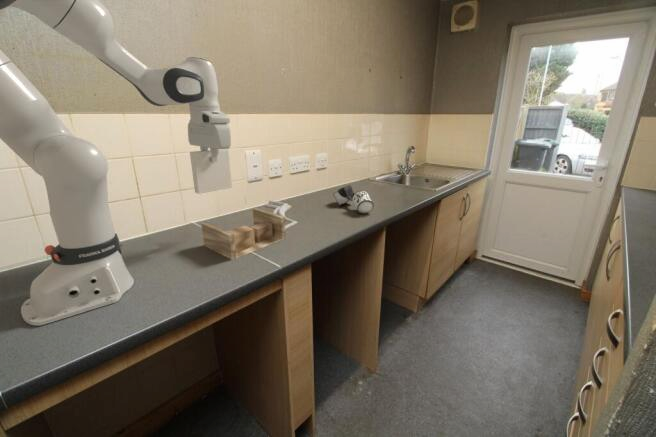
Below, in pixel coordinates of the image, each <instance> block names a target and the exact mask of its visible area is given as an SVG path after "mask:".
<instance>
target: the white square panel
mask: <svg viewBox="0 0 656 437" xmlns="http://www.w3.org/2000/svg"><path fill="white" fill-rule="evenodd" d="M218 150H219V152H218V155H217V162H210V156H211V151H210V149H208V150H207V151H201V150H196V151H189V155H190V156H189V157H190V164H191V172H192V180H193V181H192V182H193V188H194V193H195V194H199V195H201V194H207V193H211V192H216V191H221V190H227V189H232V188H233V186H232V175H231V174H232V173H231V164H230V162H231V161H230V154H229V149H218Z"/></svg>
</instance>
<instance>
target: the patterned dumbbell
mask: <svg viewBox="0 0 656 437" xmlns="http://www.w3.org/2000/svg"><path fill="white" fill-rule="evenodd" d="M332 195H333V197H334V199H335V201H336V203H337V205H338V206H340V207H341V206H342V205H344V204H346V203H349V202H353V205H354V206H355V208H356V211H357V212H358V214H361V215H364V214H366V215H367V214H369V213H371V212H372V210H374V202H373V201H372V199H371V197H370V195H369V193H368V192H367V191H365V190H357V191H356V192H354V191H353V187H352V186H351V185H350V184H349V185H345V186H343V187H341V188H339V189H337V191H335V192H334V193H333V194H332Z"/></svg>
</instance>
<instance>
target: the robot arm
mask: <svg viewBox="0 0 656 437" xmlns="http://www.w3.org/2000/svg"><path fill="white" fill-rule="evenodd" d="M7 7H11V8H16V9H19V10H22V11H24V12H26V13H29V14H30V15H31V16H34V17H35V18H37V19H38V20H39V21H41V22H42V23H44V24H45V25H47V26H48V27H50V28H51V29H53V30H54V31H56V32H57V33H59V34H60V35H62V36H63V37H64V38H66V39H68V40H70V41H71V42H73V43H74V44H76V45H77V46H78V47H81V48H82V49H83V50H85V51H87V52H88V53H90V54H91V55H93V56H94V57H95V58H96V59H98V60H99V61H100V62H102V63H103V64H104V65H106V66H107V67H109V68H110V69H111V70H113V71H114V72H115V73H117V75H119V76H121V77H122V78H124V79H125V80H127V81H128V82H129V83H130V84H131V85H133V87H135V89H136V90H137V91H138V93H139V94H140V96H142V98H143V99H144V100H146V102H148V103H149V104H151V105H153V106H157V107H165V106H175V105H179V106H180V105H186V104H188V107H189V114H190V116H189V117H190V119H189V122H188V124H187V139H188V142H189V145H190V146H194V147H199V148H200V150H199V151H207V150H210V151H211V156H210V162H217V155H218V152H219V149H227V150H230V148H231V146H232V137H231V136H232V135H231V129H230V125H229V124H230V122H231V120H230V118H231V117H230V116H229V115H228V114H225V113H224V112H223V111H222V110H221V108H220V107H221V105H220V103H219V100H218V95H219V86H218V84H219V83H218V78H217V73H216V70H215V67H214V65H213V64H212V63H211V62H210V61H208V60H207V59H204V58H202V57H195V56H192V57H191V56H190V57H187V58H186V59H185V60H184V61H181V63H178V64H176V65H173V66H169V67H165V68H160V69H159V68H153V67H149V66H147V65H145V64H144V63H142V61H140V59H138V58H136V57H135V55H133V54H132V53H130V52H129V51H128V50H127V49H126V48H124V47H123V46H122V45H121V44H120V43H119V42H118V40H117V39H116V37H115V24H114V20H113V16H112V15H111V12H110V11H109V10H108V8H107V7H106V6H105V5H104V4H103V3H102V2H101V1H100V0H0V14H1V13H3V12H4V11H5V9H7ZM0 140H1V141H2V142H3V143H5V145H7V147H9V148H10V149H11V151H12V152H14V153H15V154H16V155H17V156H18V158H20V159H21V160H22V161H23V162H25V164H26V165H27V166H29V168H30V169H32V170H33V171H34V172H35V173H36V174H37V175H39V176H40V177H42V179H43V181H44V183H45V184H44V185H45V189H46V193H47V199H48V204H49V216H50V218H51V222H52V225H53V228H54V231H55V235H56V238H57V242H58V244H57V245H56V246H54V245H47V246H45V247H44V252H45V253H46V254H47V255H48V256H50V258H51V261H52V262H51V264H49V266H47V267H46V268H45V269H44V270H43V271H42V272H41V273H40V274H39V275H37V277H35V278H34V279H33V281H32V282H31V285H30V288H29V297H30V298H28V299H26V300H25V301H24V302H23V304H21V308H20V314H21V318H22V320H23V321H24V322H25V323H27V324H28V325H31V326H35V327H36V326H37V327H38V326H39V327H40V326H44V325H47V324H51V323H53V322H57V321H60V320H64V319H67V318H70V317H73V316H76V315H79V314H82V313H86V312H88V311H92V310H95V309H99V308H102V307H105V306H108V305H111V304H115V303H117V302H118V301H119V300H120V299H121V298H122V296H123V295H124V294H125V293H126V292H127V291H129V290H130V289H131V288H132V287H133V285H134V283H135V279H134V277H133V276H132V275H131V273H130V272H129V270H128V268H127V266H126V264H125V261H124V259H123V256H122V246H121V242H120V238H119V236H118V234H117V233H115V229H114V225H113V224H114V223H113V221H112V217H111V216H112V214H111V212H110V207H109V201H108V179H107V176H108V171H109V162H108V160H107V157H106V156H105V155H104V153H103V152H102V151H101V149H99V148H98V147H97V146H96V145H95V144H93V143H92V142H91V141H89V140H86V139H83V138H81V137H80V138H79V137H76V136H75V135H73V133H71V131H70V130H69V129H68V128H67V127H66V125H65V124H64V123H63V121H62V120H61V119H60V118H59V116H58V115H57V113H56V112H55V110H54V109H53V108H52V106H51V104H50V102H49V101H48V100H47V98H46V97H45V96H44V95H43V94H42V93H41V91H39V89H38V88H36V87H35V85H34V84H33V83H32V82H31V81H30V80H29V78H27V76H26V75H25V74H24V73H23V72H22V70H20V69H19V67H17V66H16V64H15V63H14V62H13V61H12V59H10V58H9V57H8V55H6V54H5V53H4V51H2V49H0Z"/></svg>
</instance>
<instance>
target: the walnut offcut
mask: <svg viewBox="0 0 656 437" xmlns="http://www.w3.org/2000/svg"><path fill="white" fill-rule="evenodd" d="M252 225H253V226H252ZM252 225H250V228H253V229H254V236H255V242H257V243H260V242H262V241H265V240H267V239H270V238H272V237H273V230H272V224H270V223H267V222H262V223H259V224H256V225H254V224H252Z"/></svg>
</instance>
